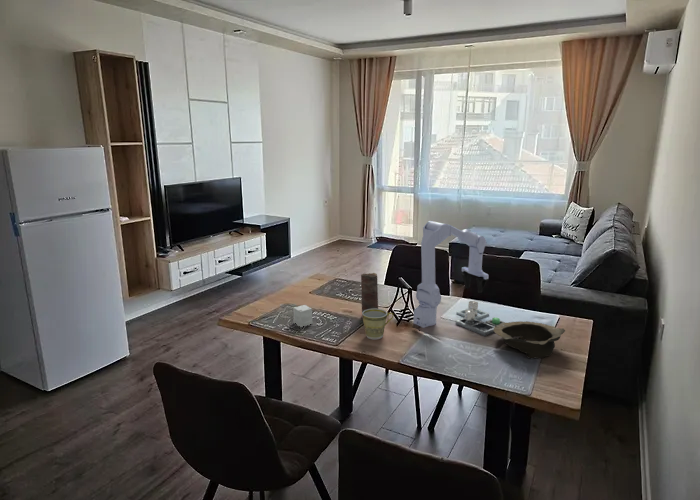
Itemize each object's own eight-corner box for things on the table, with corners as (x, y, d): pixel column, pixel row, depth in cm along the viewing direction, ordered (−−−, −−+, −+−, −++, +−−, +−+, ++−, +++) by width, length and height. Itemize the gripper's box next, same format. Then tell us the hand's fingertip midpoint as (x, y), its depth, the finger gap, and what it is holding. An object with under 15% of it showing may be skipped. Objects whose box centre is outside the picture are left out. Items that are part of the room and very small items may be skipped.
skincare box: (305, 320, 202) (305, 304, 200) (312, 324, 197) (312, 308, 195) (293, 323, 198) (292, 307, 196) (300, 327, 193) (300, 311, 191)
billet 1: (473, 317, 200) (474, 305, 199) (466, 315, 203) (466, 302, 202) (479, 315, 202) (479, 303, 201) (471, 313, 206) (472, 300, 204)
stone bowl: (558, 369, 156) (558, 344, 154) (485, 357, 170) (484, 333, 168) (568, 341, 177) (568, 318, 175) (502, 332, 190) (501, 311, 188)
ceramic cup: (366, 342, 178) (366, 319, 176) (359, 332, 188) (359, 309, 185) (397, 338, 182) (398, 315, 179) (388, 328, 191) (389, 306, 189)
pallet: (484, 338, 181) (484, 332, 181) (455, 326, 193) (455, 320, 193) (497, 333, 186) (497, 327, 185) (468, 321, 198) (468, 316, 197)
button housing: (497, 330, 188) (497, 326, 188) (485, 326, 193) (485, 321, 192) (506, 327, 192) (506, 322, 191) (494, 322, 196) (494, 318, 196)
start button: (496, 326, 190) (496, 320, 189) (490, 324, 192) (490, 318, 192) (501, 324, 192) (501, 319, 191) (495, 322, 194) (495, 317, 193)
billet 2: (470, 327, 189) (470, 313, 188) (462, 324, 192) (463, 311, 191) (476, 325, 192) (477, 311, 190) (468, 322, 195) (469, 308, 193)
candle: (358, 318, 203) (358, 275, 198) (364, 312, 209) (364, 270, 204) (375, 320, 200) (375, 276, 195) (380, 314, 207) (380, 272, 202)
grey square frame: (474, 322, 196) (474, 318, 196) (456, 315, 204) (456, 311, 204) (488, 317, 202) (489, 313, 201) (470, 310, 210) (471, 306, 209)
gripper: (494, 263, 200) (492, 293, 203) (470, 256, 212) (468, 284, 215) (482, 266, 196) (480, 296, 200) (458, 258, 208) (457, 287, 212)
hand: (473, 290), depth 207 cm, fingers open, 7 cm apart
